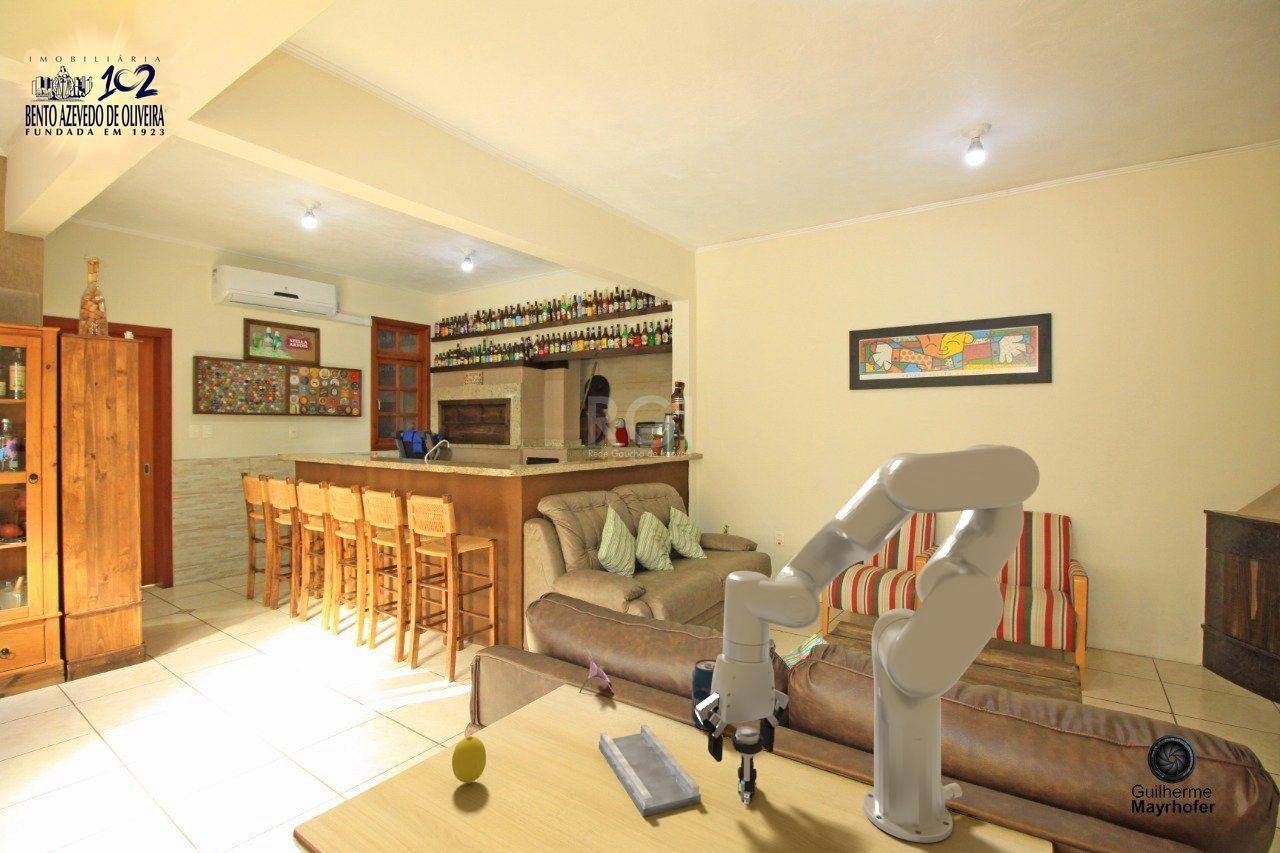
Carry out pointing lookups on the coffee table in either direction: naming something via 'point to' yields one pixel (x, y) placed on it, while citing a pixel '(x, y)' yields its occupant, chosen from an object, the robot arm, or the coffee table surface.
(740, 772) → the push button
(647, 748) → the rail
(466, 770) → the lemon
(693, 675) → the soda can
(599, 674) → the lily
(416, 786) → the coffee table surface
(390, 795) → the coffee table surface
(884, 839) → the coffee table surface
